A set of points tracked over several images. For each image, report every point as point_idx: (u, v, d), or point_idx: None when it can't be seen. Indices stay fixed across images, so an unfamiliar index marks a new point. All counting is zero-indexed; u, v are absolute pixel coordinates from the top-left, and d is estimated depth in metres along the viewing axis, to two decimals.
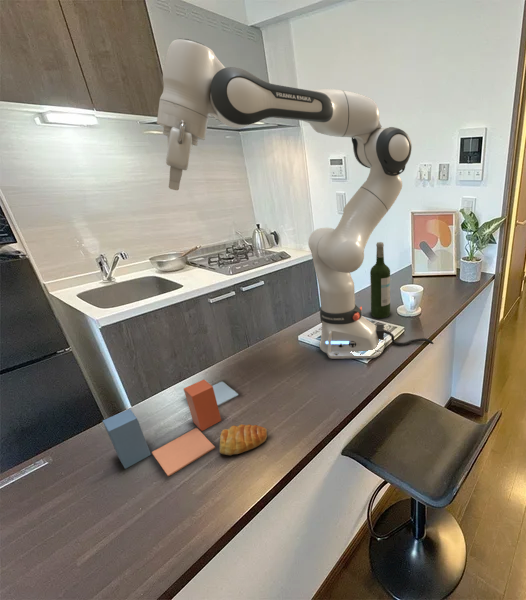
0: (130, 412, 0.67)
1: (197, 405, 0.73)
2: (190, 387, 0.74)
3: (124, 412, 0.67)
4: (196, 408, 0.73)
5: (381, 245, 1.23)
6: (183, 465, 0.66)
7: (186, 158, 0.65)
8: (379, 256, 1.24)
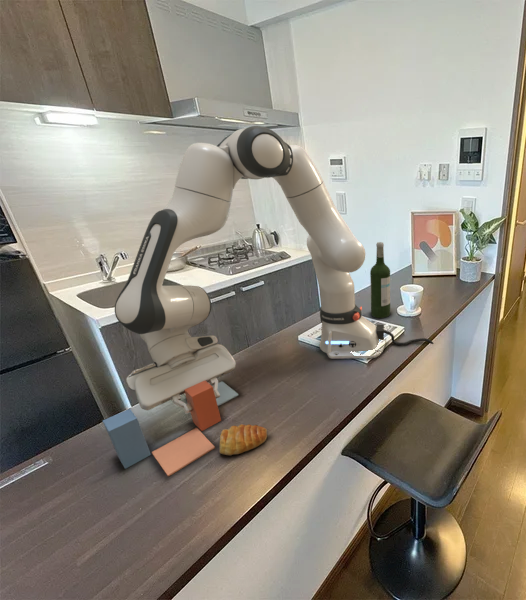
0: (130, 412, 0.67)
1: (197, 405, 0.73)
2: (190, 387, 0.74)
3: (124, 412, 0.67)
4: (196, 408, 0.73)
5: (381, 245, 1.23)
6: (183, 465, 0.66)
7: (139, 399, 0.68)
8: (379, 256, 1.24)
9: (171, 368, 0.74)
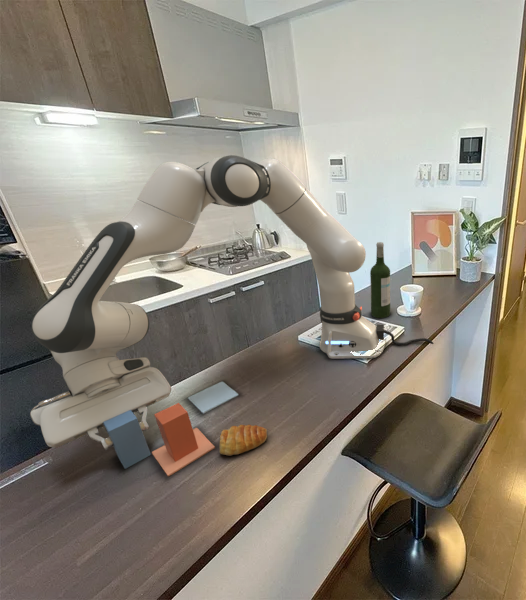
0: (130, 412, 0.67)
1: (169, 434, 0.65)
2: (162, 413, 0.66)
3: None
4: (168, 437, 0.65)
5: (381, 245, 1.23)
6: (183, 465, 0.66)
7: (43, 436, 0.59)
8: (379, 256, 1.24)
9: (88, 397, 0.64)
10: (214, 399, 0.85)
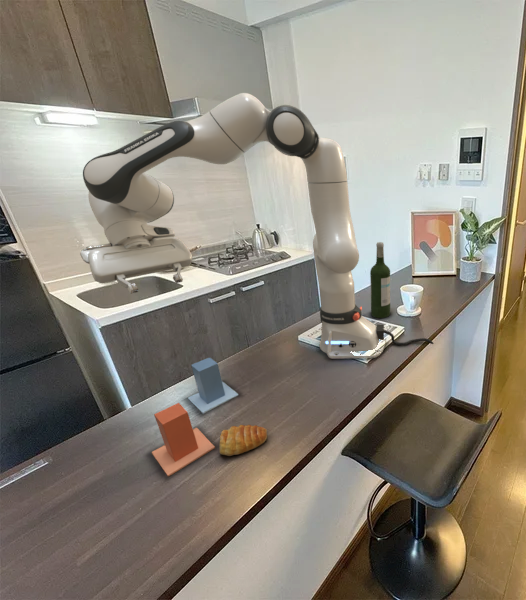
0: (211, 359, 0.84)
1: (169, 434, 0.65)
2: (162, 413, 0.66)
3: (206, 359, 0.84)
4: (168, 437, 0.65)
5: (381, 245, 1.23)
6: (183, 465, 0.66)
7: (91, 269, 0.72)
8: (379, 256, 1.24)
9: (126, 249, 0.77)
10: None
